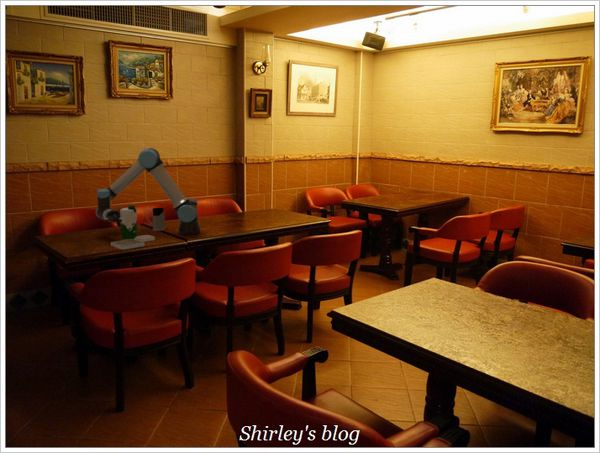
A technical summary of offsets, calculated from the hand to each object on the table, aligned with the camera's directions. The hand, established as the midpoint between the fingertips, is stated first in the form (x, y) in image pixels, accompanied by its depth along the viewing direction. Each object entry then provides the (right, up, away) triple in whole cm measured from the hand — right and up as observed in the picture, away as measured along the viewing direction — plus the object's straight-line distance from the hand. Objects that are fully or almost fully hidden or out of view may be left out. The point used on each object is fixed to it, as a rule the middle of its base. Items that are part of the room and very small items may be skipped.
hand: (129, 220), depth 309 cm
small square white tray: (+3, -12, +22) cm, 25 cm away
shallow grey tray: (-3, -15, +6) cm, 17 cm away
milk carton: (-2, -10, +6) cm, 12 cm away
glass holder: (0, -5, +55) cm, 56 cm away
